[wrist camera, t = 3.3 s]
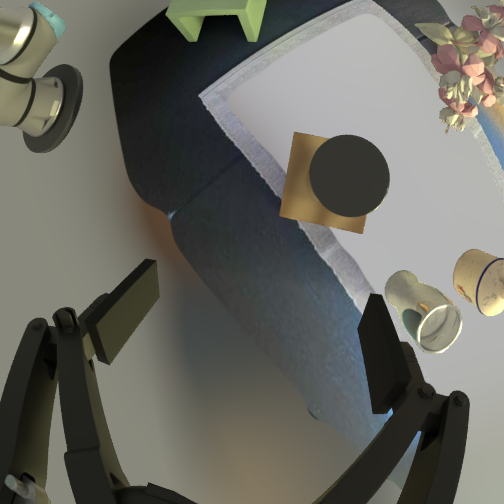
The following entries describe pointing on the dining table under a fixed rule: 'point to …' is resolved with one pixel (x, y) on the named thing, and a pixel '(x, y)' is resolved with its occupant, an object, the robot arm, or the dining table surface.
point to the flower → (468, 63)
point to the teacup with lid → (481, 280)
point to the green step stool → (215, 3)
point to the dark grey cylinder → (348, 176)
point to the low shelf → (295, 193)
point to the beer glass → (424, 312)
